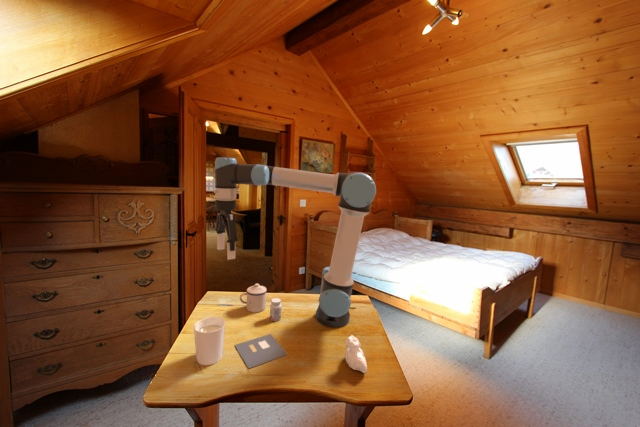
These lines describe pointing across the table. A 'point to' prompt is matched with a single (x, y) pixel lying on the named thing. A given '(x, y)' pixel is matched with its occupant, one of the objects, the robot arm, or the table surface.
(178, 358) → the table surface
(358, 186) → the robot arm
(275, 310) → the pill bottle
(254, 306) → the teacup with lid
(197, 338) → the candle holder
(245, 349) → the gray tile
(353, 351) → the bust
